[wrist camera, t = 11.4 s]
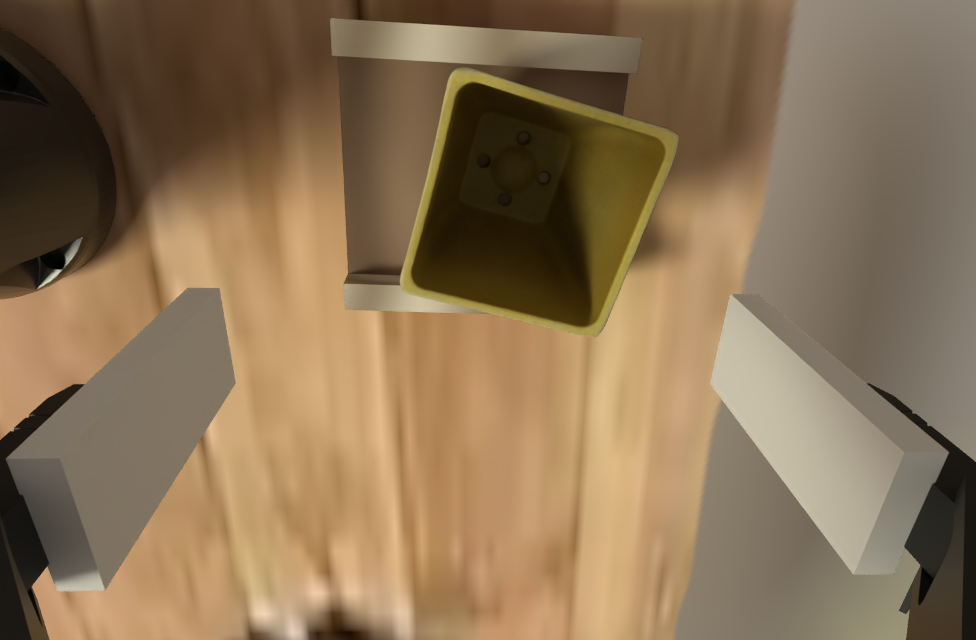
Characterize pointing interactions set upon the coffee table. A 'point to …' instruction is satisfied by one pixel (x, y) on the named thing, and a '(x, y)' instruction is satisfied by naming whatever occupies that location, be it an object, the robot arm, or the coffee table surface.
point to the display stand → (415, 118)
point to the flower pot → (533, 204)
